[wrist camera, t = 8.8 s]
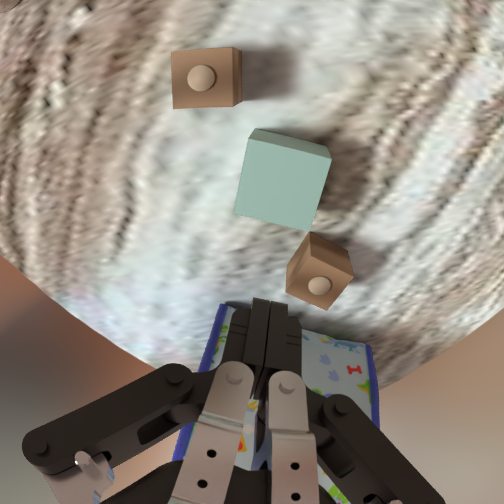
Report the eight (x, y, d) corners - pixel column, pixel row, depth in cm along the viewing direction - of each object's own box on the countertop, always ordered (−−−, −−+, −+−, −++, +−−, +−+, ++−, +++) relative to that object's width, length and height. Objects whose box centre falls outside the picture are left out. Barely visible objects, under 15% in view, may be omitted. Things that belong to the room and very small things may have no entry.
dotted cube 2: (189, 53, 26) (170, 51, 22) (241, 51, 26) (231, 47, 21) (190, 102, 29) (172, 109, 24) (241, 101, 28) (232, 107, 24)
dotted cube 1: (309, 230, 35) (310, 257, 30) (347, 250, 35) (354, 278, 31) (286, 265, 37) (285, 293, 33) (324, 282, 38) (326, 311, 33)
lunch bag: (199, 368, 49) (155, 520, 27) (216, 292, 40) (152, 497, 18) (329, 397, 50) (327, 544, 28) (377, 332, 41) (403, 520, 19)
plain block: (255, 128, 30) (248, 138, 25) (326, 145, 30) (331, 159, 25) (241, 193, 33) (233, 213, 29) (307, 209, 33) (309, 231, 29)
